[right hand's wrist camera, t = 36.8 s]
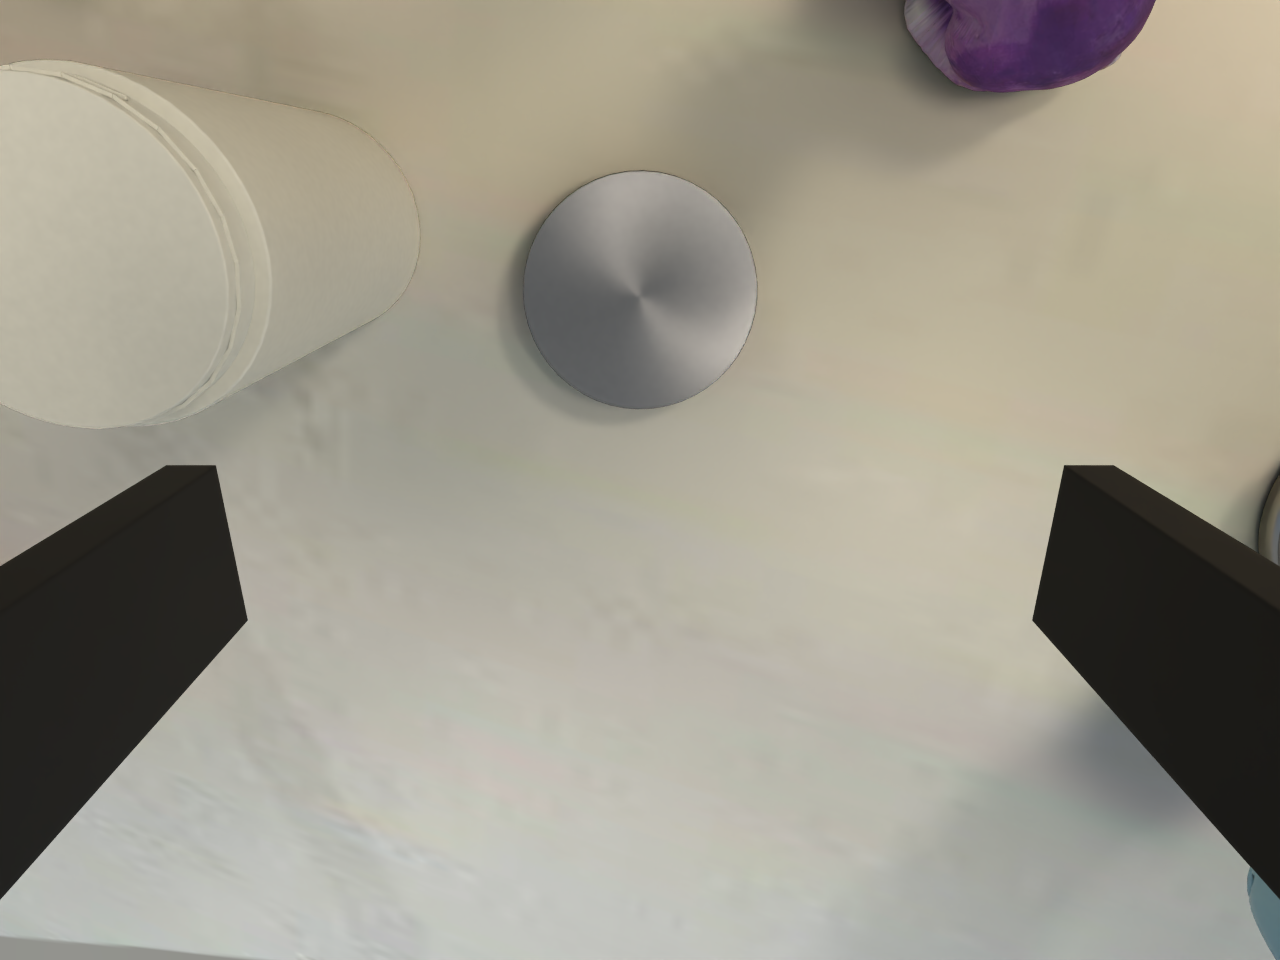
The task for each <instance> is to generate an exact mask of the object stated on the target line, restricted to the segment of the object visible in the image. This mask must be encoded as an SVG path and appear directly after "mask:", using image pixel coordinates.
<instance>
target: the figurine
mask: <svg viewBox="0 0 1280 960" xmlns="http://www.w3.org/2000/svg"><path fill="white" fill-rule="evenodd" d="M1155 1H1156V0H906V2H905V6H904V16H905V21H906V25H907V29H908V30H909V32H910V33H911V35H912V37H913V38H914V40H915V41H916V43H917V44H918V45H919V46H920V47H921V49H922V51H923V52H924V53H926V55H927V56H928V57H929V59H930V60H931V61H932V63H933V64H934V65H935V66H936V67H937V68H938V69H940V70H941V71H942V72H943V74H944V75H945V76H947V77H948V78H949V79H950V80H951V81H952V82H954V83H955V84H956V85H958V86H962V87H965V88H968V89H970V90H973V91H991V92H1015V91H1024V90H1045V89H1052V88H1057V87H1062V86H1065V85H1069V84H1072V83H1075V82H1077V81H1080V80H1082V79H1085V78H1087V77H1089V76H1090V75H1092V74H1094V73H1095V72H1097V71H1099V70H1102V69H1105V68H1106V67H1108V66H1110V65H1112V64H1113V63H1114V62H1115V61H1116V60H1117V59H1118V58H1120V55H1121V53H1122V52H1123V51H1124V50H1125V49H1126V48H1127V47H1128V46H1129V45H1130V44H1131V43H1132V41H1133V40H1134V39H1135V38H1136V37H1137V35H1138V34H1139V33H1140V31H1141V30H1142V28H1143V26H1144V24H1145V22H1146V20H1147V19H1148V17H1149V15H1150V13H1151V10H1152V8H1153V6H1154V3H1155Z"/></svg>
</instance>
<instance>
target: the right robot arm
mask: <svg viewBox="0 0 1280 960" xmlns="http://www.w3.org/2000/svg"><path fill="white" fill-rule="evenodd" d="M1258 547H1259V553H1257V552H1255V551H1254V550H1252V549H1250V548H1249V547H1247V546H1246V545H1244V544H1242V543H1241V542H1239V541H1237V540H1236V539H1234V538H1232V537H1231V536H1229V535H1227V534H1226V533H1224V532H1223V531H1221V530H1219V529H1218V528H1216V527H1214V526H1213V525H1211V524H1209V523H1208V522H1206V521H1204V520H1203V519H1201V518H1199V517H1198V516H1196V515H1195V514H1193V513H1191V512H1190V511H1188V510H1186V509H1185V508H1183V507H1181V506H1180V505H1178V504H1176V503H1175V502H1173V501H1171V500H1170V499H1168V498H1167V497H1165V496H1163V495H1162V494H1160V493H1158V492H1157V491H1155V490H1153V489H1152V488H1150V487H1148V486H1147V485H1145V484H1144V483H1142V482H1140V481H1139V480H1137V479H1135V478H1134V477H1132V476H1130V475H1129V474H1127V473H1125V472H1124V471H1122V470H1120V469H1119V468H1117V467H1116V466H1114V465H1064V469H1063V474H1062V479H1061V484H1060V488H1059V493H1058V498H1057V503H1056V508H1055V513H1054V517H1053V522H1052V527H1051V532H1050V537H1049V542H1048V547H1047V551H1046V556H1045V561H1044V566H1043V571H1042V576H1041V581H1040V585H1039V590H1038V595H1037V600H1036V605H1035V610H1034V615H1033V619H1032V621H1033V622H1034V623H1035V624H1036V625H1037V626H1038V627H1039V628H1040V630H1041V631H1042V632H1043V633H1044V634H1045V635H1046V636H1047V637H1048V639H1049V640H1050V641H1051V642H1052V643H1053V644H1054V645H1055V647H1056V648H1057V649H1058V650H1059V651H1060V652H1061V653H1062V654H1063V656H1064V657H1065V658H1066V659H1067V660H1068V661H1069V662H1070V663H1071V665H1072V666H1073V667H1074V668H1075V669H1076V670H1077V671H1078V672H1079V674H1080V675H1081V676H1082V677H1083V678H1084V679H1085V680H1086V681H1087V683H1088V684H1089V685H1090V686H1091V687H1092V688H1093V689H1094V691H1095V692H1096V693H1097V694H1098V695H1099V696H1100V697H1101V698H1102V700H1103V701H1104V702H1105V703H1106V704H1107V705H1108V706H1109V707H1110V709H1111V710H1112V711H1113V712H1114V713H1115V714H1116V715H1117V716H1118V718H1119V719H1120V720H1121V721H1122V722H1123V723H1124V724H1125V726H1126V727H1127V728H1128V729H1129V730H1130V731H1131V732H1132V733H1133V735H1134V736H1135V737H1136V738H1137V739H1138V740H1139V741H1140V742H1141V744H1142V745H1143V746H1144V747H1145V748H1146V749H1147V750H1148V751H1149V753H1150V754H1151V755H1152V756H1153V757H1154V758H1155V759H1156V761H1157V762H1158V763H1159V764H1160V765H1161V766H1162V767H1163V768H1164V770H1165V771H1166V772H1167V773H1168V774H1169V775H1170V776H1171V777H1172V779H1173V780H1174V781H1175V782H1176V783H1177V784H1178V785H1179V786H1180V788H1181V789H1182V790H1183V791H1184V792H1185V793H1186V794H1187V795H1188V797H1189V798H1190V799H1191V800H1192V801H1193V802H1194V803H1195V805H1196V806H1197V807H1198V808H1199V809H1200V810H1201V811H1202V812H1203V814H1204V815H1205V816H1206V817H1207V818H1208V819H1209V820H1210V821H1211V823H1212V824H1213V825H1214V826H1215V827H1216V828H1217V829H1218V830H1219V832H1220V833H1221V834H1222V835H1223V836H1224V837H1225V838H1226V840H1227V841H1228V842H1229V843H1230V844H1231V845H1232V846H1233V847H1234V849H1235V850H1236V851H1237V852H1238V853H1239V854H1240V855H1241V856H1242V858H1243V859H1244V860H1245V861H1246V862H1247V863H1248V864H1249V865H1250V869H1249V872H1248V877H1247V891H1248V895H1249V902H1250V906H1251V911H1252V914H1253V916H1254V919H1255V921H1256V923H1257V926H1258V928H1259V930H1260V932H1261V934H1262V936H1263V938H1264V940H1265V942H1266V944H1267V945H1268V947H1269V949H1270V951H1271V952H1272V954H1273V956H1274V957H1275V959H1276V960H1280V474H1279V476H1278V478H1277V479H1276V481H1275V483H1274V485H1273V487H1272V489H1271V491H1270V493H1269V495H1268V498H1267V501H1266V503H1265V506H1264V509H1263V513H1262V517H1261V521H1260V528H1259V540H1258ZM247 621H248V619H247V615H246V610H245V605H244V600H243V595H242V590H241V585H240V581H239V576H238V571H237V566H236V561H235V556H234V551H233V547H232V542H231V537H230V532H229V527H228V522H227V517H226V513H225V508H224V503H223V498H222V493H221V488H220V484H219V479H218V474H217V469H216V465H166V466H164V467H163V468H161V469H160V470H158V471H156V472H155V473H153V474H151V475H150V476H148V477H146V478H145V479H143V480H141V481H140V482H138V483H136V484H135V485H133V486H132V487H130V488H128V489H127V490H125V491H123V492H122V493H120V494H118V495H117V496H115V497H113V498H112V499H110V500H109V501H107V502H105V503H104V504H102V505H100V506H99V507H97V508H95V509H94V510H92V511H90V512H89V513H87V514H85V515H84V516H82V517H81V518H79V519H77V520H76V521H74V522H72V523H71V524H69V525H67V526H66V527H64V528H62V529H61V530H59V531H57V532H56V533H54V534H53V535H51V536H49V537H48V538H46V539H44V540H43V541H41V542H39V543H38V544H36V545H34V546H33V547H31V548H30V549H28V550H26V551H25V552H23V553H21V554H20V555H18V556H16V557H15V558H13V559H11V560H10V561H8V562H6V563H5V564H3V565H2V566H0V899H1V898H2V897H3V896H4V895H5V894H6V893H7V891H8V890H9V889H10V888H11V887H12V886H13V885H14V884H15V882H16V881H17V880H18V879H19V878H20V877H21V876H22V874H23V873H24V872H25V871H26V870H27V869H28V868H29V867H30V865H31V864H32V863H33V862H34V861H35V860H36V859H37V858H38V856H39V855H40V854H41V853H42V852H43V851H44V850H45V849H46V847H47V846H48V845H49V844H50V843H51V842H52V841H53V840H54V838H55V837H56V836H57V835H58V834H59V833H60V832H61V830H62V829H63V828H64V827H65V826H66V825H67V824H68V823H69V821H70V820H71V819H72V818H73V817H74V816H75V815H76V814H77V812H78V811H79V810H80V809H81V808H82V807H83V806H84V805H85V803H86V802H87V801H88V800H89V799H90V798H91V797H92V795H93V794H94V793H95V792H96V791H97V790H98V789H99V788H100V786H101V785H102V784H103V783H104V782H105V781H106V780H107V779H108V777H109V776H110V775H111V774H112V773H113V772H114V771H115V770H116V768H117V767H118V766H119V765H120V764H121V763H122V762H123V761H124V759H125V758H126V757H127V756H128V755H129V754H130V753H131V751H132V750H133V749H134V748H135V747H136V746H137V745H138V744H139V742H140V741H141V740H142V739H143V738H144V737H145V736H146V735H147V733H148V732H149V731H150V730H151V729H152V728H153V727H154V726H155V724H156V723H157V722H158V721H159V720H160V719H161V718H162V716H163V715H164V714H165V713H166V712H167V711H168V710H169V709H170V707H171V706H172V705H173V704H174V703H175V702H176V701H177V700H178V698H179V697H180V696H181V695H182V694H183V693H184V692H185V691H186V689H187V688H188V687H189V686H190V685H191V684H192V683H193V681H194V680H195V679H196V678H197V677H198V676H199V675H200V674H201V672H202V671H203V670H204V669H205V668H206V667H207V666H208V665H209V663H210V662H211V661H212V660H213V659H214V658H215V657H216V656H217V654H218V653H219V652H220V651H221V650H222V649H223V648H224V647H225V645H226V644H227V643H228V642H229V641H230V640H231V639H232V637H233V636H234V635H235V634H236V633H237V632H238V631H239V630H240V628H241V627H242V626H243V625H244V624H245V623H246V622H247Z"/></svg>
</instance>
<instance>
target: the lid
mask: <svg viewBox="0 0 1280 960" xmlns="http://www.w3.org/2000/svg"><path fill="white" fill-rule="evenodd" d="M523 297H524V307H525V313H526V317H527V322H528V325H529V328H530V331H531V334H532V336H533V339H534V341H535V343H536V345H537V347H538V349H539V350H540V352H541V354H542V355H543V357H544V358H545V360H546V361H547V362H548V364H549V365H550V366H551V367H552V369H553V370H554V371H555V372H556V373H557V374H558V375H559V376H560V377H561V378H562V379H563V380H564V381H566V382H567V383H568V384H569V385H570V386H572V387H573V388H575V389H576V390H578V391H579V392H581V393H582V394H584V395H586V396H588V397H590V398H592V399H594V400H597V401H599V402H602V403H605V404H608V405H612V406H617V407H622V408H630V409H653V408H658V407H664V406H669V405H672V404H675V403H678V402H681V401H684V400H686V399H688V398H690V397H693V396H695V395H696V394H698V393H700V392H701V391H703V390H704V389H706V388H708V387H709V386H710V385H711V384H713V383H714V382H715V381H716V380H717V379H719V378H720V377H721V376H722V375H723V373H724V372H725V371H726V370H727V369H728V368H729V367H730V366H731V364H732V363H733V362H734V360H735V359H736V358H737V356H738V355H739V353H740V351H741V349H742V348H743V346H744V344H745V342H746V340H747V337H748V335H749V333H750V330H751V327H752V323H753V320H754V316H755V311H756V303H757V276H756V268H755V264H754V260H753V256H752V252H751V250H750V247H749V245H748V242H747V240H746V237H745V235H744V234H743V232H742V230H741V228H740V227H739V225H738V223H737V222H736V220H735V219H734V218H733V217H732V215H731V214H730V213H729V211H728V210H727V209H726V208H725V207H724V206H723V205H722V204H721V203H720V202H719V201H718V200H717V199H716V198H714V197H713V196H712V195H710V194H709V193H708V192H706V191H705V190H704V189H702V188H700V187H699V186H697V185H695V184H693V183H691V182H690V181H687V180H685V179H682V178H679V177H677V176H674V175H670V174H666V173H661V172H654V171H643V170H641V171H625V172H620V173H615V174H610V175H607V176H604V177H601V178H598V179H595V180H593V181H592V182H590V183H588V184H586V185H584V186H582V187H580V188H579V189H577V190H576V191H574V192H573V193H571V194H570V195H569V196H567V197H566V198H565V199H564V200H563V201H562V202H561V203H560V204H559V205H558V206H556V207H555V209H554V210H553V211H552V212H551V214H550V215H549V216H548V217H547V218H546V220H545V221H544V223H543V224H542V226H541V228H540V229H539V231H538V233H537V235H536V237H535V239H534V241H533V244H532V246H531V248H530V252H529V255H528V258H527V262H526V267H525V273H524V284H523Z"/></svg>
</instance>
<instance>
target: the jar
mask: <svg viewBox="0 0 1280 960" xmlns="http://www.w3.org/2000/svg"><path fill="white" fill-rule="evenodd" d="M419 247H420V224H419V218H418V212H417V207H416V204H415V201H414V197H413V194H412V192H411V190H410V187H409V185H408V183H407V181H406V179H405V177H404V175H403V173H402V172H401V170H400V168H399V167H398V165H397V164H396V163H395V161H394V160H393V159H392V157H391V156H390V155H389V154H388V153H387V151H386V150H385V149H384V148H383V147H382V146H381V145H380V144H379V143H378V142H377V141H375V140H374V139H373V138H372V137H371V136H370V135H368V134H367V133H366V132H364V131H363V130H361V129H360V128H358V127H357V126H355V125H353V124H351V123H349V122H347V121H345V120H343V119H341V118H339V117H336V116H333V115H330V114H327V113H323V112H318V111H313V110H308V109H303V108H299V107H294V106H289V105H284V104H279V103H274V102H269V101H264V100H260V99H255V98H250V97H245V96H240V95H235V94H230V93H225V92H221V91H216V90H211V89H206V88H201V87H196V86H191V85H186V84H182V83H177V82H172V81H167V80H162V79H157V78H152V77H147V76H143V75H138V74H133V73H128V72H123V71H118V70H113V69H108V68H104V67H99V66H94V65H89V64H84V63H79V62H74V61H67V60H52V59H40V60H28V61H19V62H15V63H11V64H7V65H2V66H0V404H2V405H4V406H6V407H8V408H10V409H12V410H15V411H17V412H19V413H22V414H24V415H27V416H29V417H32V418H35V419H38V420H42V421H45V422H49V423H52V424H57V425H62V426H68V427H74V428H87V429H106V428H119V427H124V426H134V427H137V426H151V425H160V424H165V423H170V422H174V421H178V420H181V419H184V418H187V417H189V416H192V415H195V414H197V413H199V412H201V411H203V410H205V409H206V408H208V407H210V406H212V405H214V404H216V403H218V402H220V401H221V400H223V399H225V398H227V397H229V396H231V395H233V394H235V393H236V392H238V391H240V390H242V389H244V388H246V387H248V386H250V385H251V384H253V383H255V382H257V381H259V380H261V379H263V378H265V377H267V376H268V375H270V374H272V373H274V372H276V371H278V370H280V369H282V368H283V367H285V366H287V365H289V364H291V363H293V362H295V361H297V360H298V359H300V358H302V357H304V356H306V355H308V354H310V353H312V352H313V351H315V350H317V349H319V348H321V347H323V346H325V345H327V344H328V343H330V342H332V341H334V340H336V339H338V338H340V337H342V336H343V335H345V334H347V333H349V332H351V331H353V330H355V329H357V328H359V327H360V326H362V325H364V324H366V323H368V322H370V321H372V320H373V319H375V318H377V317H379V316H380V315H382V314H383V313H384V312H386V311H387V310H388V309H389V308H390V307H391V306H392V305H393V304H394V303H395V302H396V301H397V300H398V299H399V298H400V296H401V295H402V294H403V292H404V291H405V290H406V288H407V286H408V284H409V282H410V280H411V278H412V276H413V273H414V270H415V268H416V264H417V260H418V255H419Z"/></svg>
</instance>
